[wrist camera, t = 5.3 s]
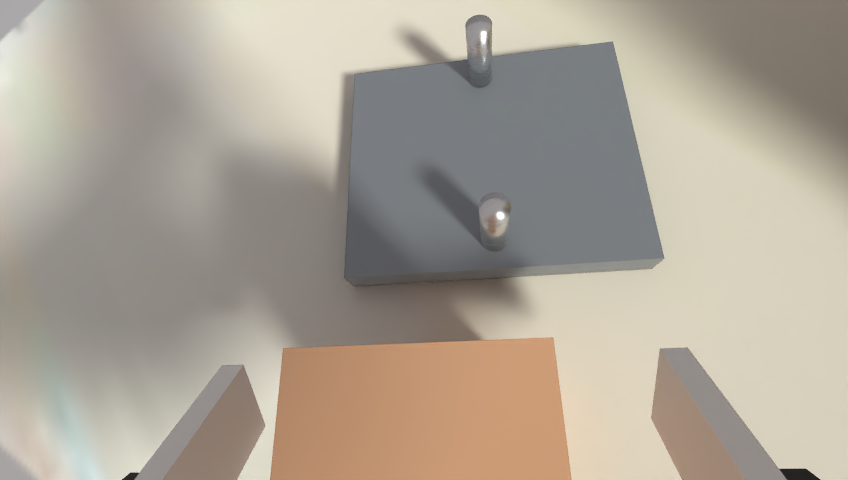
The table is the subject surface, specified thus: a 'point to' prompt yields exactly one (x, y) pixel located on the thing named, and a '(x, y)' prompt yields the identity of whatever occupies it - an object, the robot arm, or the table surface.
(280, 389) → the case
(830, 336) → the table surface
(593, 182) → the pin tray
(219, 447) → the robot arm
